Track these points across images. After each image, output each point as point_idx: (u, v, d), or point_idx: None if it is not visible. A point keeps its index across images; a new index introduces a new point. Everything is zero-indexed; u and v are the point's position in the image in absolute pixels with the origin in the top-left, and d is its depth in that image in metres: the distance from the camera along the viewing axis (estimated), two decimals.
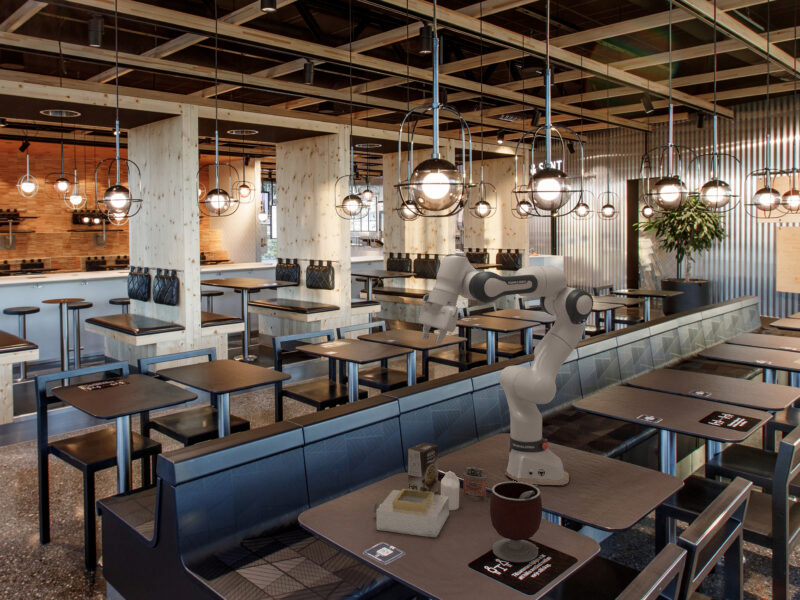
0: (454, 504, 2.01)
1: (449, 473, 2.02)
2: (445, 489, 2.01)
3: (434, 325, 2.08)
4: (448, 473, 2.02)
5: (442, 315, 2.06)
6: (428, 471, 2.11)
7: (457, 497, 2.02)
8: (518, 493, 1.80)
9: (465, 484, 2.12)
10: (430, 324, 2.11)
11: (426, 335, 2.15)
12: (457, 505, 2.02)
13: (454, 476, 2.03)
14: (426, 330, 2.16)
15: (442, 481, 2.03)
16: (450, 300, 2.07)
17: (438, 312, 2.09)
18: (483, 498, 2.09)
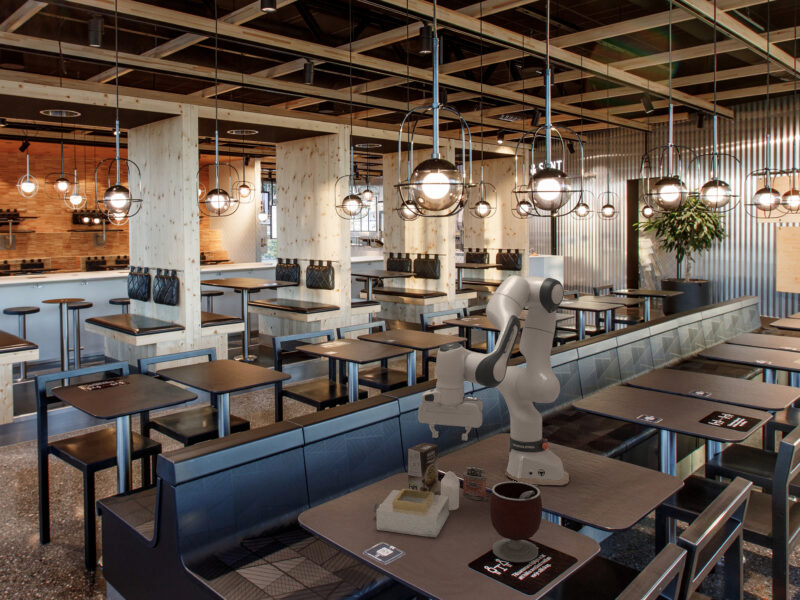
0: (454, 504, 2.01)
1: (449, 473, 2.02)
2: (445, 489, 2.01)
3: (456, 424, 1.99)
4: (448, 473, 2.02)
5: (465, 413, 1.98)
6: (428, 471, 2.11)
7: (457, 497, 2.02)
8: (518, 493, 1.80)
9: (465, 484, 2.12)
10: (447, 423, 2.00)
11: (437, 433, 2.03)
12: (457, 505, 2.02)
13: (454, 476, 2.03)
14: (433, 428, 2.03)
15: (442, 481, 2.03)
16: None
17: (455, 410, 1.99)
18: (483, 498, 2.09)
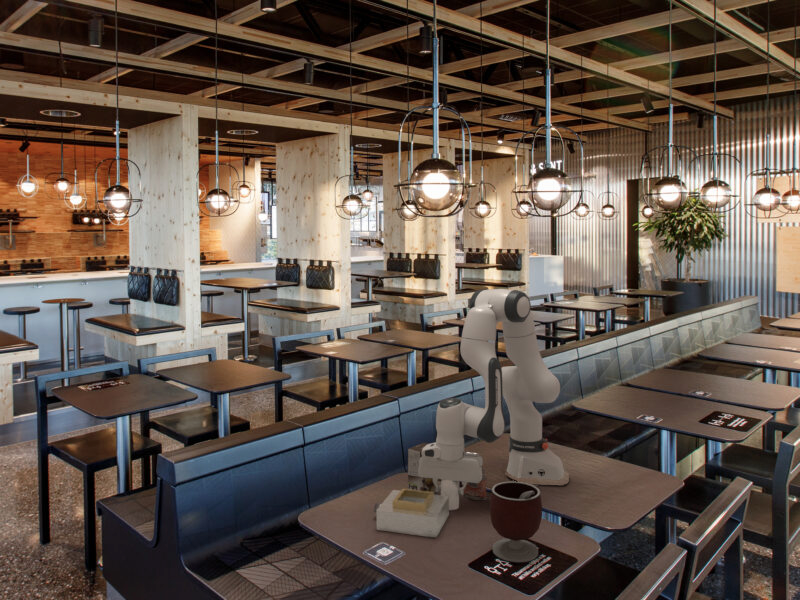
0: (454, 504, 2.01)
1: None
2: (445, 489, 2.01)
3: (456, 479, 2.01)
4: None
5: (465, 468, 2.00)
6: None
7: (457, 497, 2.02)
8: (518, 493, 1.80)
9: None
10: (447, 478, 2.02)
11: None
12: (457, 505, 2.02)
13: None
14: (436, 482, 2.05)
15: (442, 481, 2.03)
16: (463, 449, 2.01)
17: (455, 465, 2.01)
18: (483, 498, 2.09)
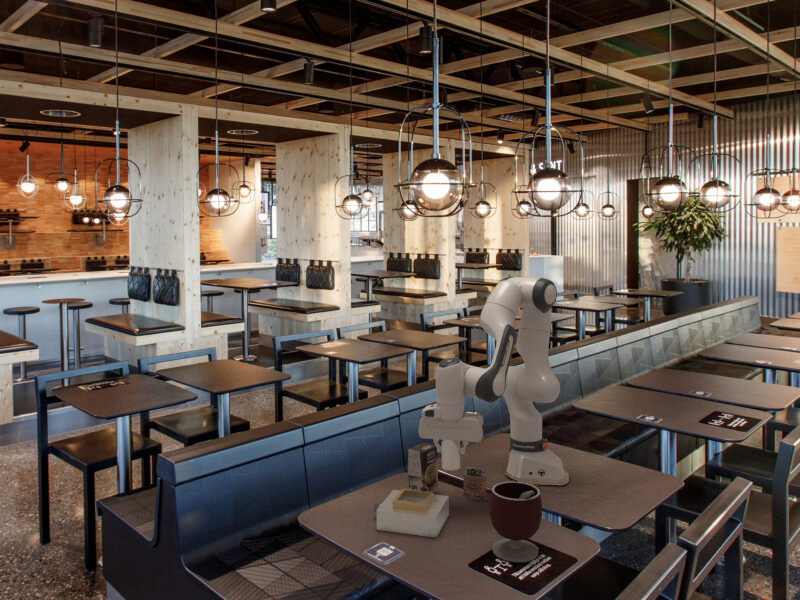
0: (455, 464, 2.00)
1: None
2: (445, 450, 2.00)
3: (456, 439, 2.00)
4: None
5: (466, 428, 1.99)
6: (428, 471, 2.11)
7: (458, 457, 2.01)
8: (518, 493, 1.80)
9: (465, 484, 2.12)
10: (447, 438, 2.00)
11: (441, 448, 2.03)
12: (458, 465, 2.02)
13: None
14: (437, 443, 2.04)
15: (443, 442, 2.02)
16: None
17: (455, 425, 1.99)
18: (483, 498, 2.09)
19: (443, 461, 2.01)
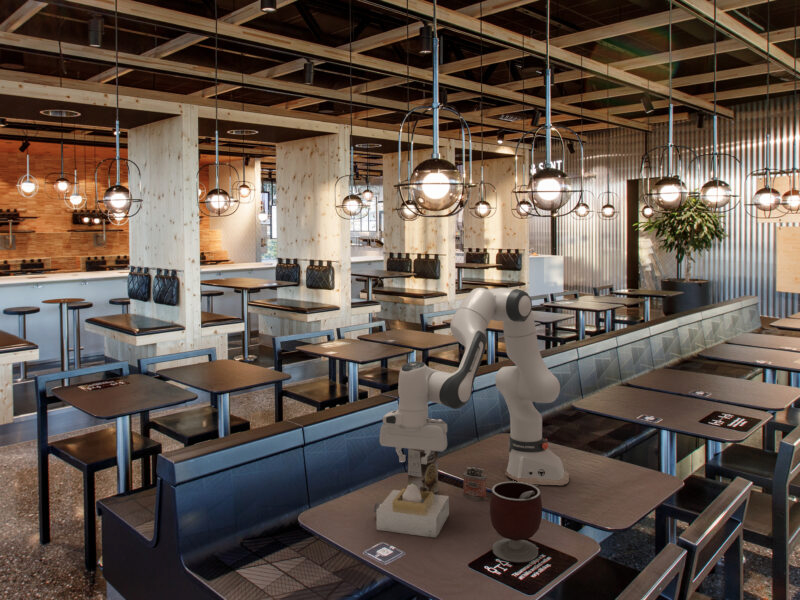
0: None
1: (411, 486, 1.91)
2: None
3: (419, 448, 1.88)
4: (410, 486, 1.91)
5: (429, 436, 1.87)
6: (428, 471, 2.11)
7: None
8: (518, 493, 1.80)
9: (465, 484, 2.12)
10: (409, 447, 1.89)
11: (404, 457, 1.92)
12: None
13: (416, 489, 1.93)
14: (400, 451, 1.92)
15: (404, 495, 1.91)
16: (427, 416, 1.89)
17: (418, 432, 1.88)
18: (483, 498, 2.09)
19: None
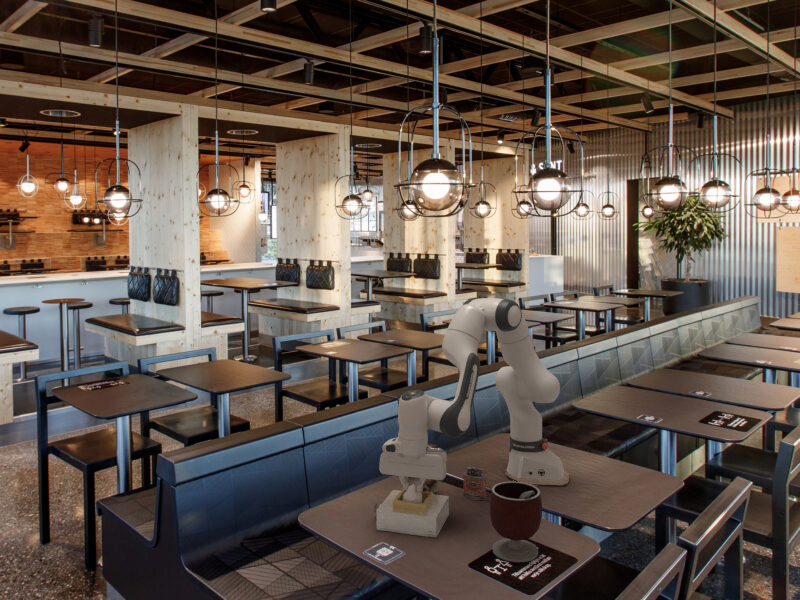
0: None
1: (412, 486, 1.91)
2: None
3: (418, 476, 1.89)
4: (411, 486, 1.91)
5: (428, 464, 1.88)
6: None
7: None
8: (518, 493, 1.80)
9: (465, 484, 2.12)
10: (409, 475, 1.90)
11: (408, 485, 1.92)
12: None
13: None
14: (403, 479, 1.93)
15: (405, 495, 1.91)
16: (427, 444, 1.90)
17: (418, 461, 1.89)
18: (483, 498, 2.09)
19: None
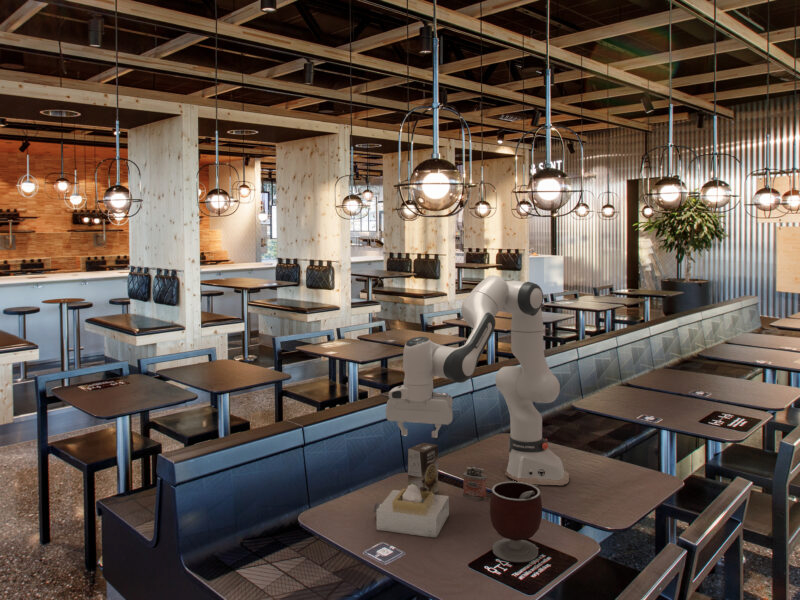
0: None
1: (412, 486, 1.91)
2: None
3: (425, 421, 1.91)
4: (410, 486, 1.91)
5: (434, 409, 1.90)
6: (428, 471, 2.11)
7: None
8: (518, 493, 1.80)
9: (465, 484, 2.12)
10: (416, 421, 1.92)
11: (406, 431, 1.95)
12: None
13: (416, 489, 1.92)
14: (402, 425, 1.95)
15: (404, 495, 1.91)
16: (432, 390, 1.91)
17: (424, 407, 1.91)
18: (483, 498, 2.09)
19: None
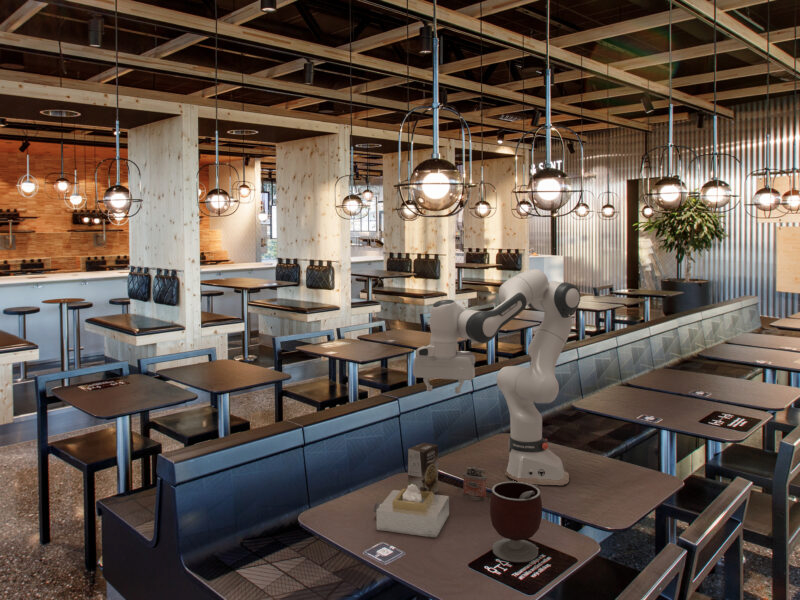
0: None
1: (412, 486, 1.91)
2: None
3: (449, 377, 2.07)
4: (410, 486, 1.91)
5: (458, 366, 2.06)
6: (428, 471, 2.11)
7: None
8: (518, 493, 1.80)
9: (465, 484, 2.12)
10: (440, 377, 2.07)
11: (431, 387, 2.10)
12: None
13: (416, 489, 1.92)
14: (427, 382, 2.11)
15: (404, 495, 1.91)
16: (456, 348, 2.07)
17: (448, 364, 2.06)
18: (483, 498, 2.09)
19: None
